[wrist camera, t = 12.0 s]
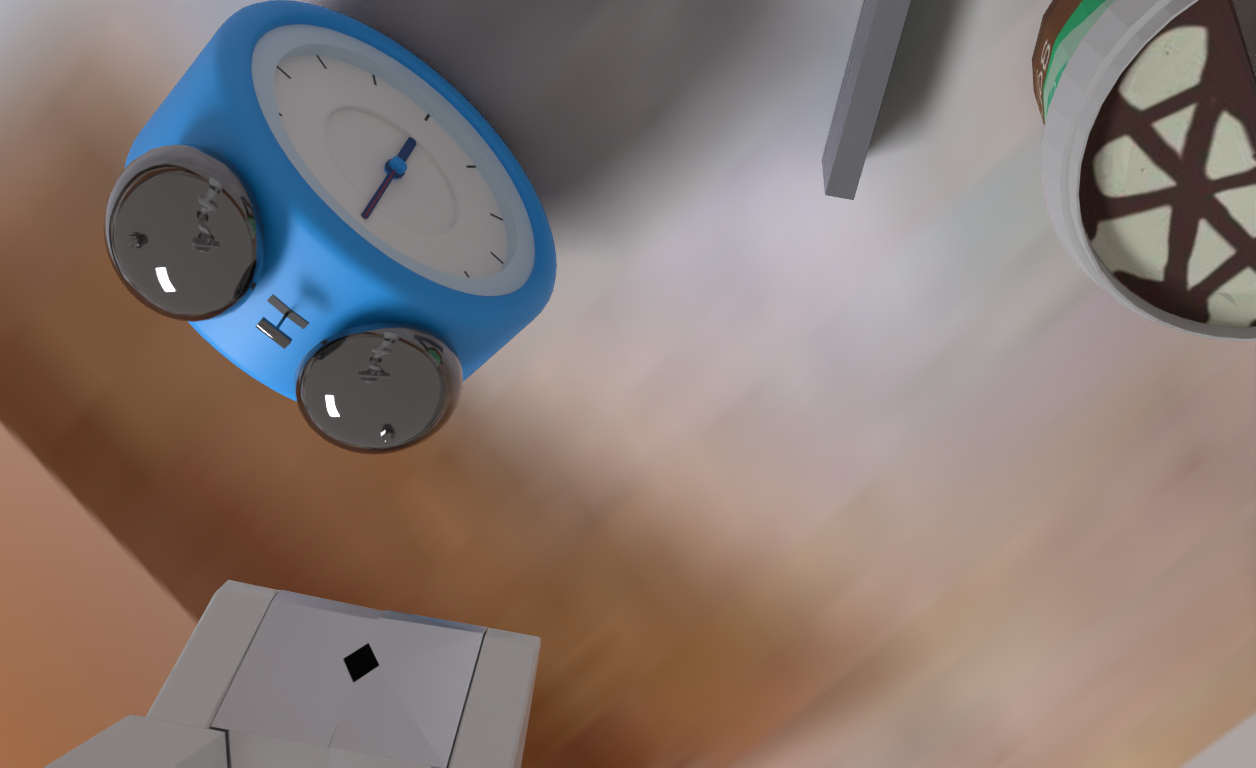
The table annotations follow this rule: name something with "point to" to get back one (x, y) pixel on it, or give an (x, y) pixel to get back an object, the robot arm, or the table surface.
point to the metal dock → (862, 94)
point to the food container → (1153, 156)
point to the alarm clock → (332, 223)
